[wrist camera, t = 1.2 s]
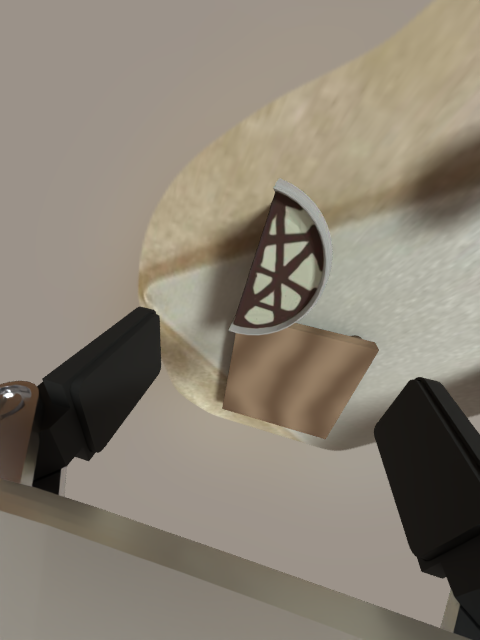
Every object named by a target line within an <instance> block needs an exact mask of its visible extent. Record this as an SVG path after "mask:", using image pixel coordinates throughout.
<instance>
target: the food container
mask: <svg viewBox="0 0 480 640" xmlns="http://www.w3.org/2000/svg"><path fill="white" fill-rule="evenodd" d="M274 191H275V195H274V198H273V201H272V203H271V207H270V211H269V214H268V218H267V221H266V224H265V227H264V230H263V233H262V236H261V239H260V242H259V245H258V248H257V252H256V255H255V258H254V261H253V264H252V267H251V269H250V273H249V276H248V279H247V282H246V286H245V289H244V292H243V295H242V298H241V301H240V304H239V307H238V310H237V313H236V315H235V318H234V320H233V322H232V324H231V326H230V328H229V331H231V332H235V333H239V334H245V335H264V334H270V333H274V332H278V331H280V330H283V329H285V328H287V327H289V326H291V325H293V324H294V323H296V322H297V321H299V320H300V319H301V318H303V317H304V316H305V315H306V314H308V313H309V311H310V310H311V309H312V308H313V307H314V306H315V305H316V303H317V301H318V300H319V298H320V297H321V295H322V293H323V291H324V289H325V286H326V284H327V281H328V279H329V275H330V271H331V267H332V255H333V251H332V240H331V236H330V232H329V229H328V226H327V223H326V221H325V219H324V217H323V215H322V213H321V212H320V210H319V209H318V207H317V206H316V204H315V203H314V202H313V201H312V200H311V199H310V198H309V197H308V196H307V195H306V194H305V193H304V192H303V191H302V190H300V189H299V188H297V187H296V186H294V185H293V184H291V183H289V182H287V181H285V180H282V179H280V178H279V179H278V181H277V182H276V184H275V186H274Z"/></svg>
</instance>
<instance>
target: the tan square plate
mask: <svg viewBox="0 0 480 640" xmlns="http://www.w3.org/2000/svg"><path fill="white" fill-rule="evenodd" d="M378 351H379V349H378V347H377V345H376V343H375V342H371V341H367V340H363V339H362V338H361V337H359V336H346V335H342V334H338V333H334V332H330V331H326V330H322V329H318V328H314V327H310V326H306V325H302V324H298V323H294V324H293V325H291V326H289V327H287V328H285V329H283V330H280V331H278V332H274V333H270V334H264V335H245V334H239V333H236V335H235V340H234V346H233V352H232V357H231V363H230V368H229V374H228V380H227V385H226V391H225V396H224V402H223V407H222V409H225V410H229V411H232V412H235V413H239V414H242V415H245V416H249V417H252V418H256V419H259V420H262V421H266V422H269V423H272V424H276V425H279V426H283V427H286V428H289V429H293V430H296V431H299V432H303V433H306V434H310V435H313V436H316V437H320V438H323V439H326V438H327V436H328V434H329V433H330V431H331V429H332V428H333V426H334V424H335V423H336V421H337V419H338V418H339V416H340V414H341V413H342V411H343V409H344V408H345V406H346V404H347V403H348V401H349V399H350V398H351V396H352V394H353V393H354V391H355V389H356V388H357V386H358V384H359V383H360V381H361V379H362V378H363V376H364V374H365V373H366V371H367V369H368V368H369V366H370V364H371V363H372V361H373V359H374V358H375V356H376V354H377V353H378Z"/></svg>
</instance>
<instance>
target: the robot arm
mask: <svg viewBox="0 0 480 640" xmlns="http://www.w3.org/2000/svg"><path fill="white" fill-rule="evenodd" d="M160 370H161V347H160V318H159V315H157V314H156V312H155V311H154V310H152V309H148V308H144V307H138V308H136V309H135V310H133V311H132V312H131V313H129V314H128V315H127V316H126V317H124V318H123V319H122V320H120V321H119V322H117V323H116V324H115V325H113V326H112V327H111V328H109V329H108V330H107V331H105V332H104V333H103V334H101V335H100V336H99V337H98V338H96V339H95V340H93V341H92V342H91V343H89V344H88V345H87V346H85V347H84V348H83V349H81V350H80V351H79V352H77V353H76V354H75V355H73V356H72V357H71V358H69V359H68V360H67V361H65V362H64V363H63V364H62V365H60V366H59V367H57V368H56V369H55V370H53V371H52V372H51V373H49V374H48V375H47V376H45V377H44V378H43V382H42V383H41V384H40V385H38V386H36V385H35V384H33V383H31V382H28V381H12V382H7V383H3V384H0V640H480V434H479V433H478V432H477V430H476V429H475V428H474V427H473V425H472V424H471V423H470V421H469V420H468V418H467V417H466V416H465V414H464V413H463V412H462V410H461V409H460V408H459V406H458V405H457V404H456V402H455V401H454V400H453V398H452V397H451V396H450V394H449V393H448V392H447V390H446V389H445V387H444V386H443V385H442V384H441V383H440V382H438V381H434V380H430V379H426V378H422V377H418V378H415V379H414V380H410V381H409V382H408V383H407V385H406V386H405V387H404V389H403V390H402V391H401V392H400V394H399V395H398V396H397V398H396V399H395V400H394V402H393V403H392V404H391V406H390V407H389V408H388V410H387V411H386V412H385V414H384V415H383V416H382V418H381V419H380V420H379V422H378V423H377V424H376V426H375V428H374V436H375V439H376V443H377V446H378V449H379V452H380V455H381V458H382V462H383V465H384V468H385V471H386V474H387V477H388V480H389V484H390V487H391V490H392V493H393V496H394V499H395V503H396V506H397V509H398V512H399V515H400V518H401V522H402V525H403V528H404V531H405V534H406V537H407V541H408V544H409V546H410V549H411V551H412V553H413V554H414V555H415V556H417V559H418V562H419V565H420V568H421V571H422V572H424V573H428V574H430V575H433V576H436V577H440V578H445V577H447V579H448V582H449V585H450V587H451V591H450V594H449V598H448V601H447V605H446V609H445V612H444V616H443V620H442V623H441V627H440V628H438V627H435V626H432V625H429V624H427V623H424V622H421V621H418V620H415V619H413V618H410V617H407V616H404V615H401V614H399V613H396V612H393V611H390V610H388V609H385V608H382V607H379V606H376V605H374V604H371V603H368V602H365V601H362V600H360V599H357V598H354V597H351V596H348V595H346V594H343V593H340V592H337V591H334V590H331V589H328V588H326V587H323V586H320V585H317V584H314V583H312V582H309V581H305V580H303V579H300V578H297V577H295V576H292V575H289V574H286V573H283V572H280V571H278V570H275V569H272V568H269V567H266V566H263V565H260V564H258V563H255V562H252V561H249V560H246V559H243V558H241V557H238V556H235V555H232V554H229V553H226V552H224V551H220V550H218V549H215V548H212V547H209V546H207V545H204V544H201V543H198V542H195V541H192V540H189V539H186V538H183V537H181V536H178V535H175V534H172V533H169V532H166V531H163V530H160V529H157V528H155V527H152V526H149V525H146V524H143V523H140V522H137V521H134V520H131V519H129V518H126V517H123V516H120V515H117V514H114V513H111V512H108V511H106V510H103V509H99V508H97V507H94V506H90V505H88V504H84V503H81V502H78V501H75V500H72V499H69V498H65V483H66V469H67V465H68V464H69V463H70V462H71V460H72V459H73V458H74V457H78V458H81V459H84V460H87V461H89V460H90V459H91V458H92V457H93V455H94V454H95V453H96V452H97V453H98V452H100V451H102V450H103V448H104V447H105V446H106V445H107V443H108V442H109V441H110V439H111V438H112V437H113V435H114V434H115V433H116V431H117V430H118V428H119V427H120V426H121V424H122V423H123V422H124V420H125V419H126V418H127V416H128V415H129V414H130V412H131V411H132V410H133V408H134V407H135V406H136V404H137V403H138V401H139V400H140V399H141V397H142V396H143V395H144V393H145V392H146V391H147V389H148V388H149V387H150V385H151V384H152V383H153V381H154V380H155V379H156V377H157V376H158V374H159V372H160Z"/></svg>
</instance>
